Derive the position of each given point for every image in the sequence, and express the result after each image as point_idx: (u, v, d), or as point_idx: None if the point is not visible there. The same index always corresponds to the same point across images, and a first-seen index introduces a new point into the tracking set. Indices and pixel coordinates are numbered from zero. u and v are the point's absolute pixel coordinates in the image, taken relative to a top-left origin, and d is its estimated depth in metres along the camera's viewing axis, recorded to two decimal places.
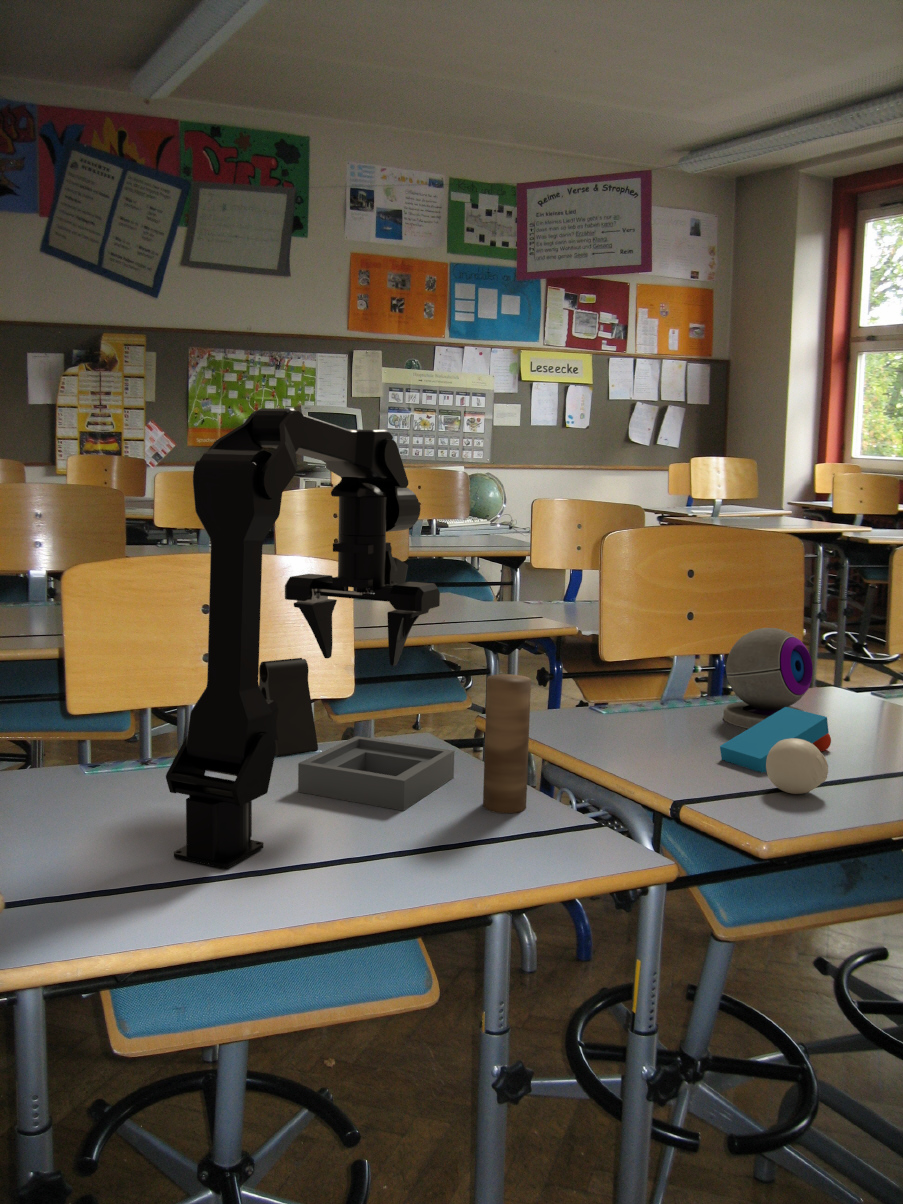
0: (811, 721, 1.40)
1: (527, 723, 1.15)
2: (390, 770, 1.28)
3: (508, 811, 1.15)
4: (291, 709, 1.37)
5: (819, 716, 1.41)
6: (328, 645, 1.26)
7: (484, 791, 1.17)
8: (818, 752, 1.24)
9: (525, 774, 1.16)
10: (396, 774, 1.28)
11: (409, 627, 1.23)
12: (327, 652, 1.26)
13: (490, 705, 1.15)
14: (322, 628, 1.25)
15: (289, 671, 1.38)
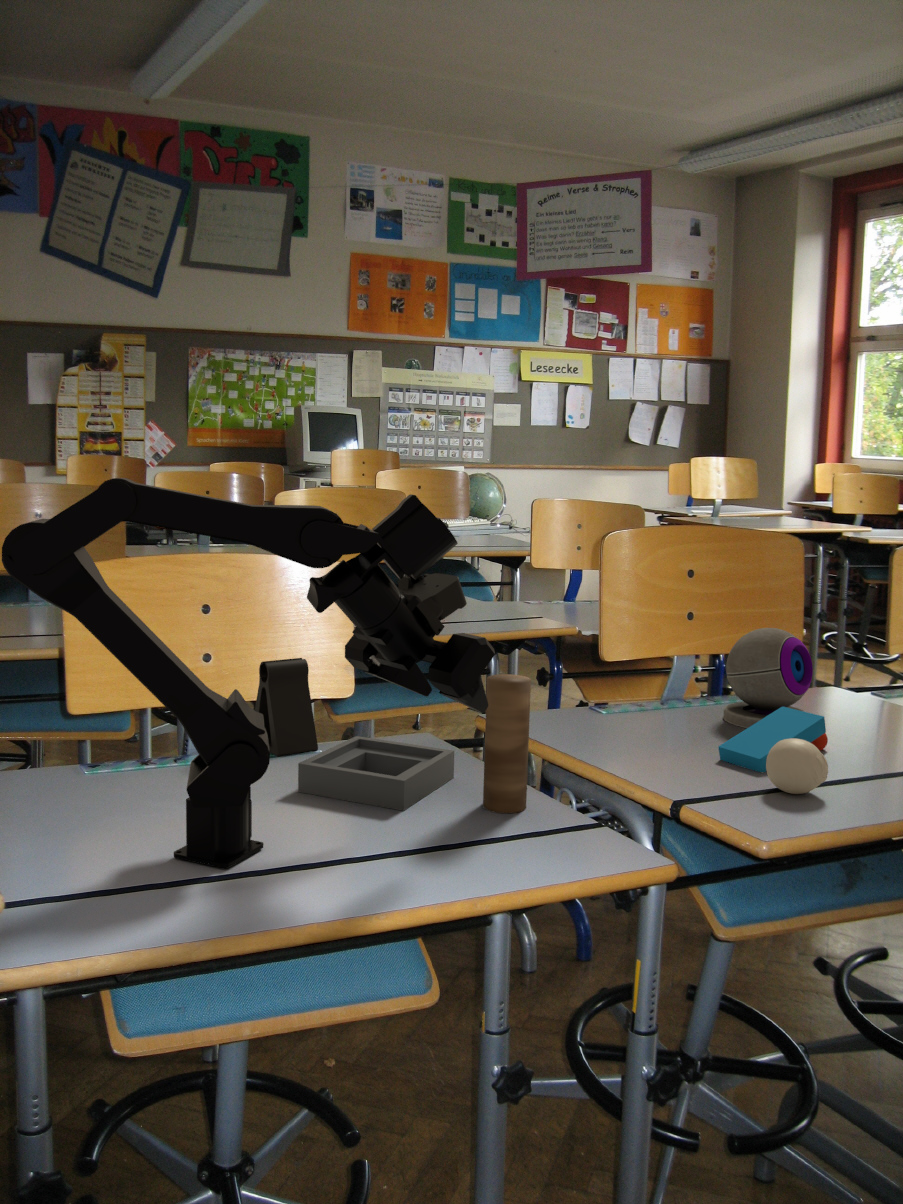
0: (809, 721, 1.40)
1: (527, 723, 1.15)
2: (390, 770, 1.28)
3: (508, 811, 1.15)
4: (291, 709, 1.37)
5: (816, 716, 1.41)
6: (422, 685, 1.13)
7: (484, 791, 1.17)
8: (818, 752, 1.24)
9: (525, 774, 1.16)
10: (396, 774, 1.28)
11: None
12: (424, 692, 1.13)
13: (490, 705, 1.15)
14: (404, 679, 1.12)
15: (289, 671, 1.38)
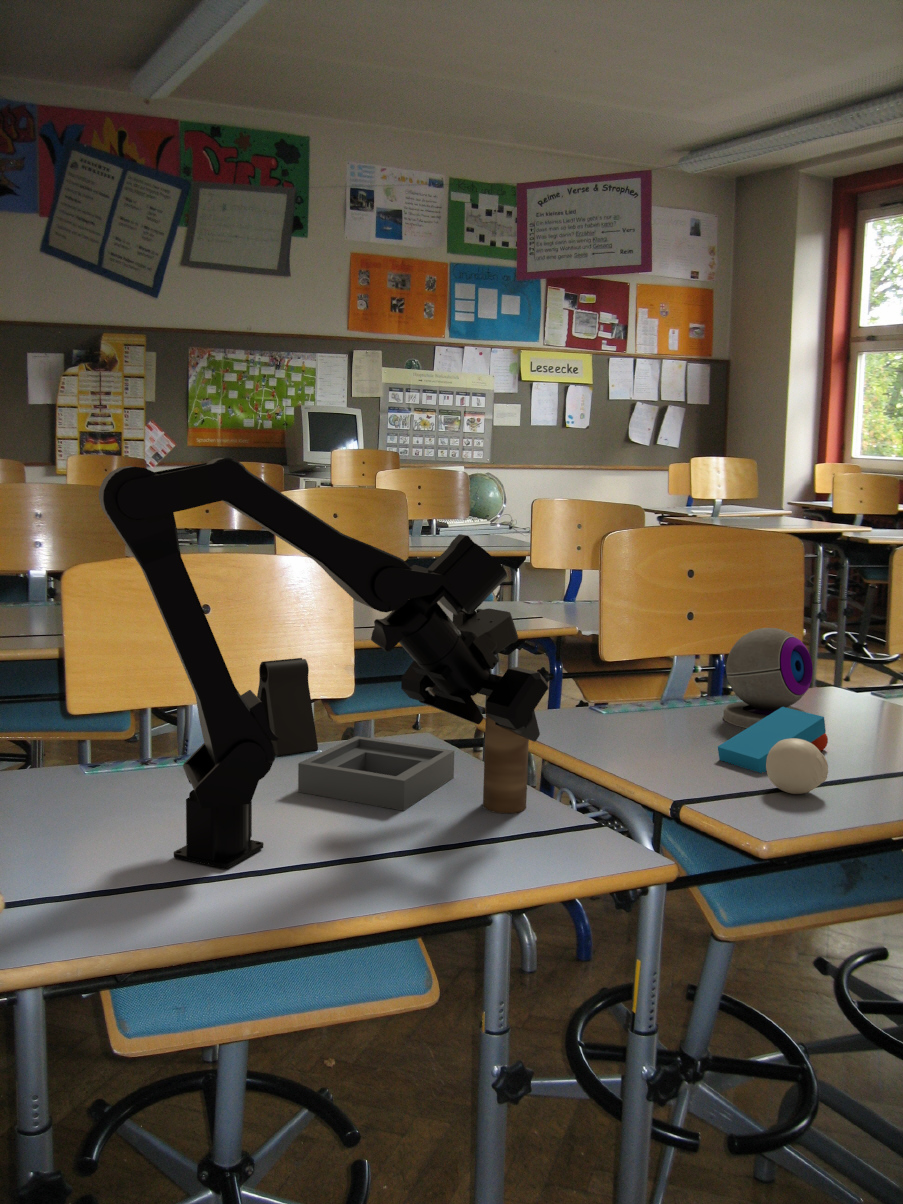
0: (808, 721, 1.40)
1: None
2: (390, 770, 1.28)
3: (508, 811, 1.15)
4: (291, 709, 1.37)
5: (816, 716, 1.41)
6: (474, 714, 1.19)
7: (484, 791, 1.17)
8: (818, 752, 1.24)
9: (525, 774, 1.16)
10: (396, 774, 1.28)
11: None
12: (476, 720, 1.19)
13: None
14: (457, 709, 1.17)
15: (289, 671, 1.38)
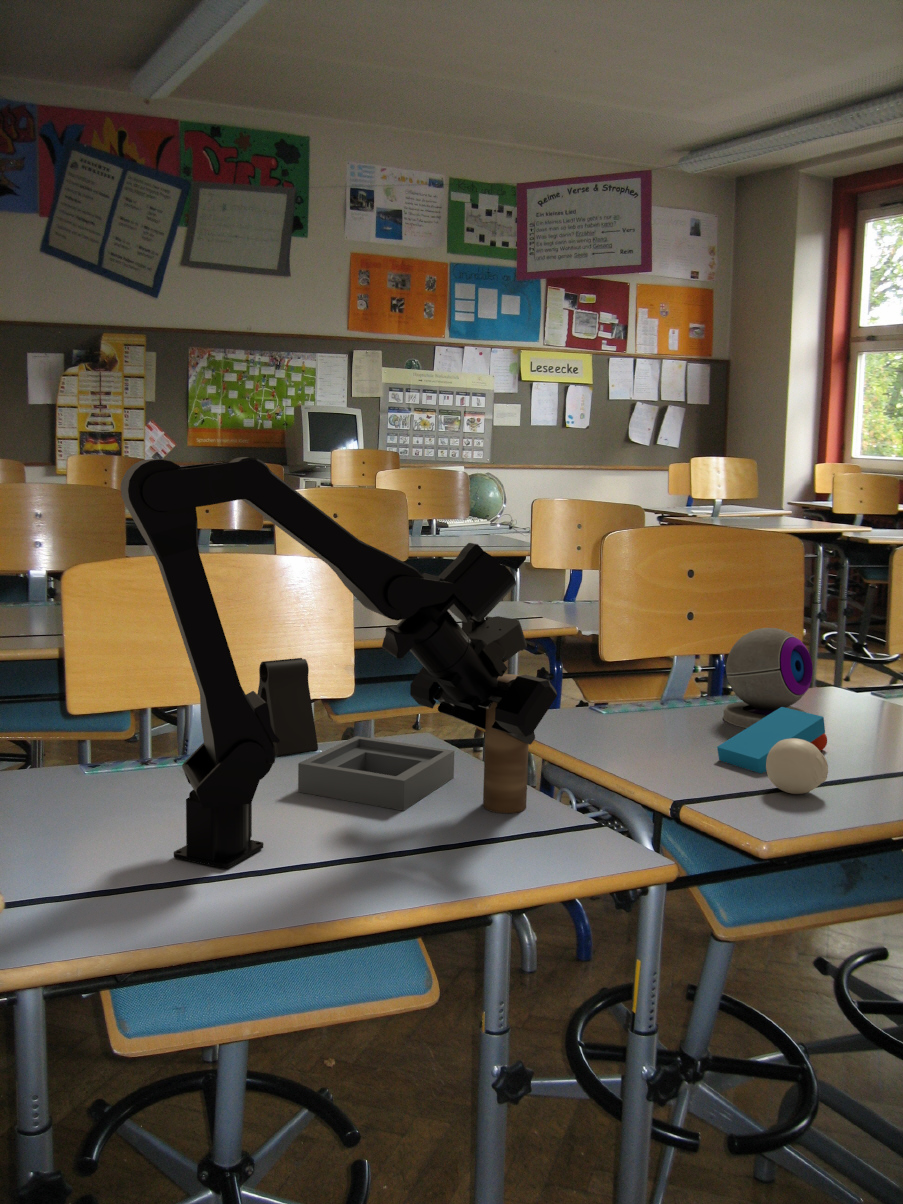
0: (808, 721, 1.40)
1: None
2: (390, 770, 1.28)
3: (508, 811, 1.15)
4: (291, 709, 1.37)
5: (816, 716, 1.41)
6: None
7: (484, 791, 1.17)
8: (818, 752, 1.24)
9: (525, 774, 1.16)
10: (396, 774, 1.28)
11: None
12: None
13: None
14: (477, 719, 1.17)
15: (289, 671, 1.38)
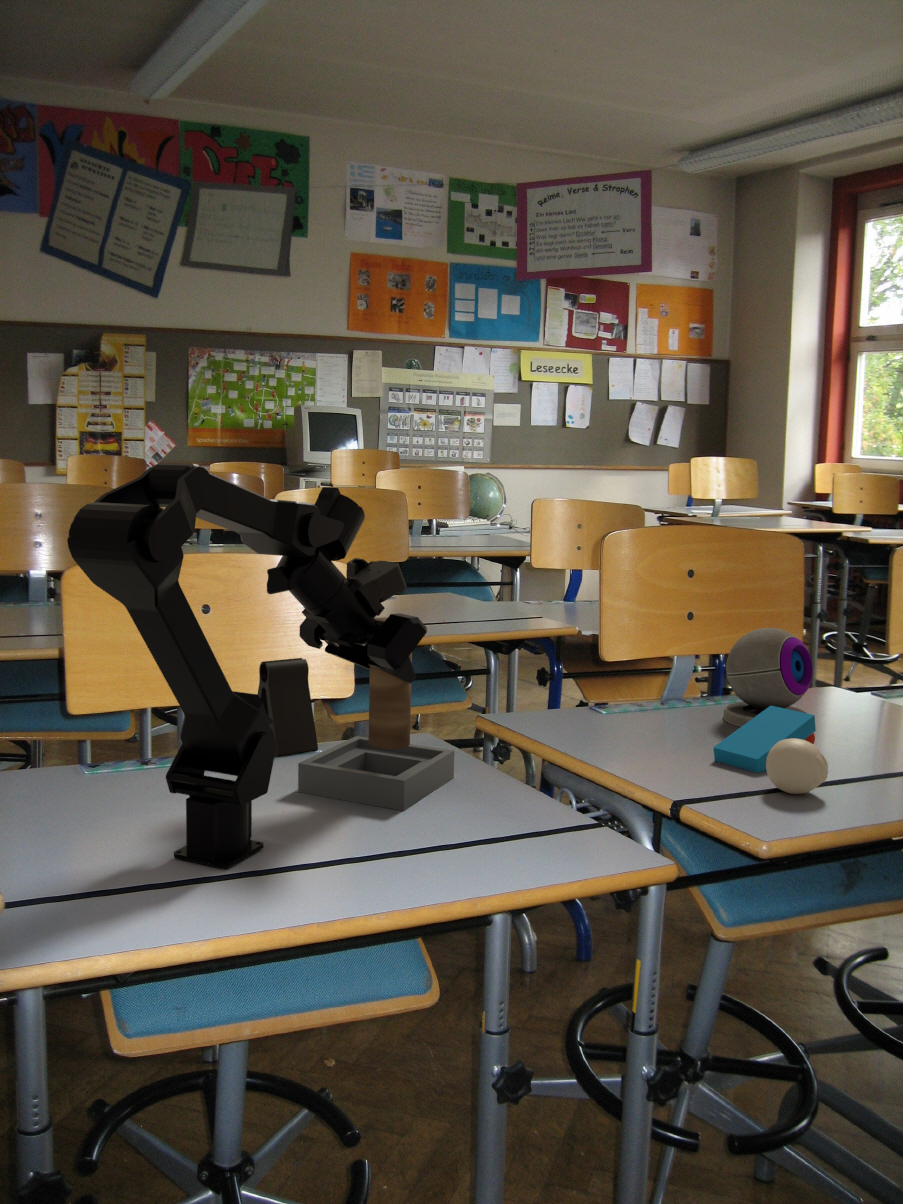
0: (800, 720, 1.41)
1: None
2: (390, 770, 1.28)
3: (390, 747, 1.20)
4: (291, 709, 1.37)
5: (806, 714, 1.42)
6: None
7: (369, 728, 1.22)
8: (818, 752, 1.24)
9: (407, 712, 1.21)
10: (396, 774, 1.28)
11: None
12: None
13: None
14: (362, 659, 1.22)
15: (289, 671, 1.38)
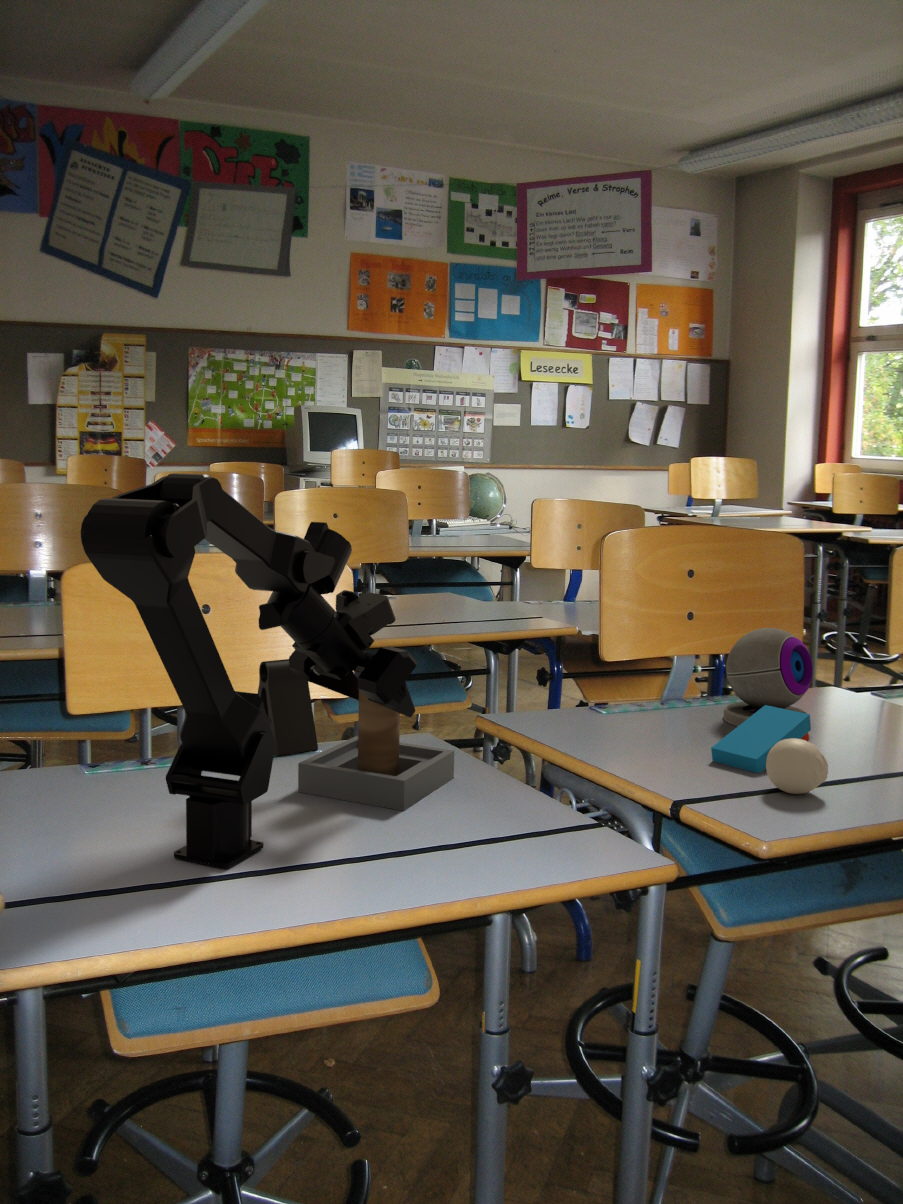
0: (795, 719, 1.41)
1: None
2: None
3: None
4: (291, 709, 1.37)
5: (802, 714, 1.42)
6: None
7: None
8: (818, 752, 1.24)
9: (396, 754, 1.22)
10: None
11: (404, 685, 1.17)
12: None
13: None
14: (342, 687, 1.25)
15: (289, 671, 1.38)
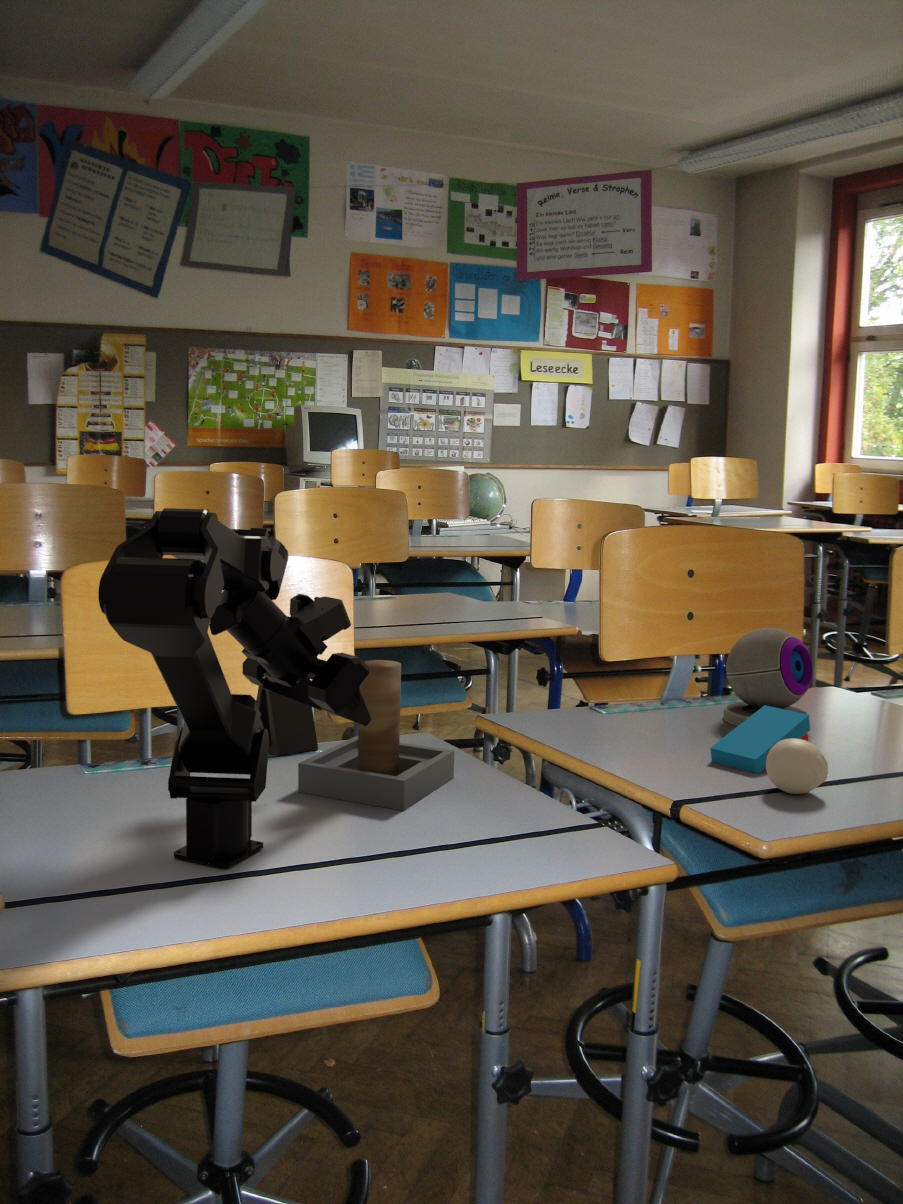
0: (795, 719, 1.41)
1: (397, 706, 1.22)
2: None
3: None
4: (291, 709, 1.37)
5: (801, 714, 1.42)
6: None
7: None
8: (818, 752, 1.24)
9: (396, 754, 1.22)
10: None
11: (358, 693, 1.13)
12: (318, 706, 1.22)
13: (361, 689, 1.21)
14: (298, 694, 1.20)
15: None
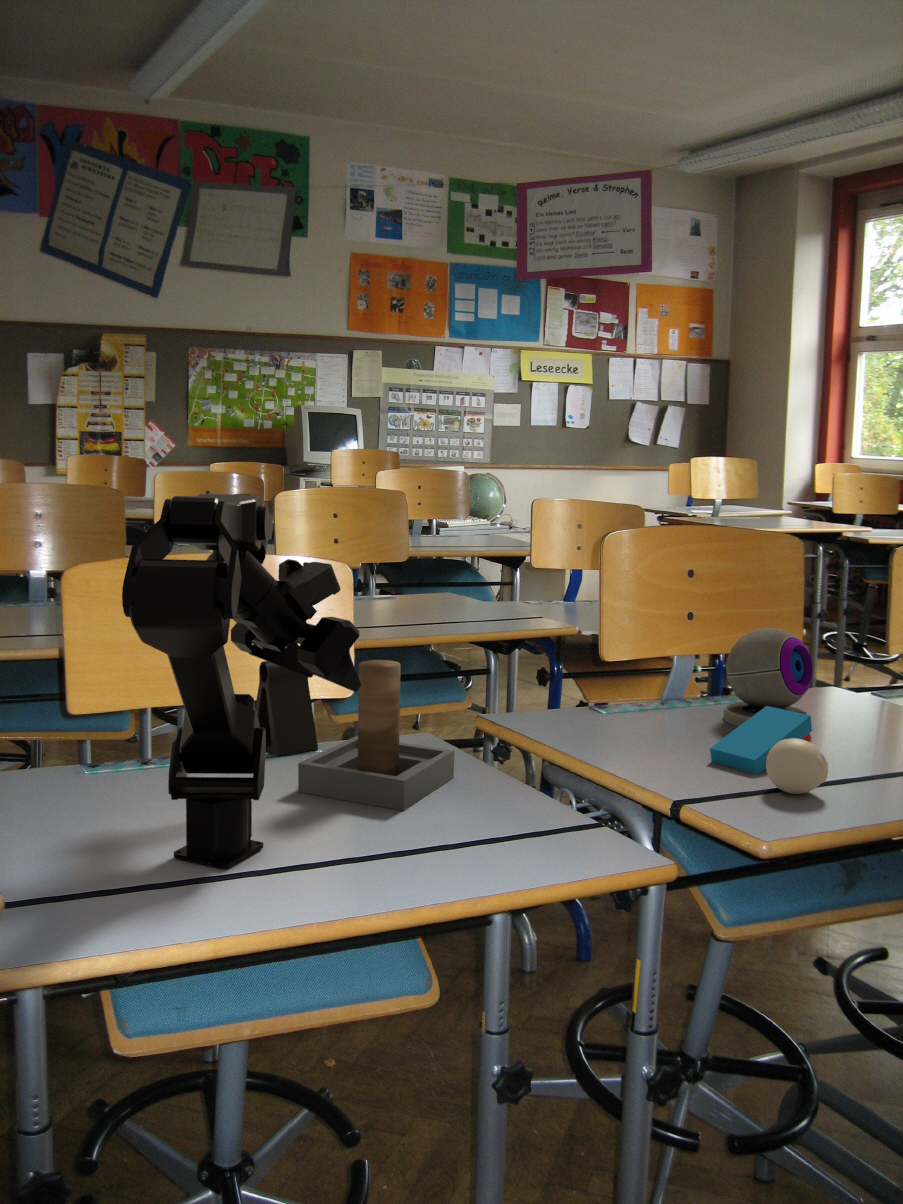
0: (796, 720, 1.40)
1: (396, 706, 1.22)
2: None
3: None
4: (291, 709, 1.37)
5: (803, 715, 1.41)
6: (305, 667, 1.21)
7: None
8: (818, 752, 1.24)
9: (395, 754, 1.22)
10: None
11: (347, 658, 1.11)
12: (307, 673, 1.21)
13: (361, 689, 1.21)
14: (287, 661, 1.19)
15: (289, 671, 1.38)
